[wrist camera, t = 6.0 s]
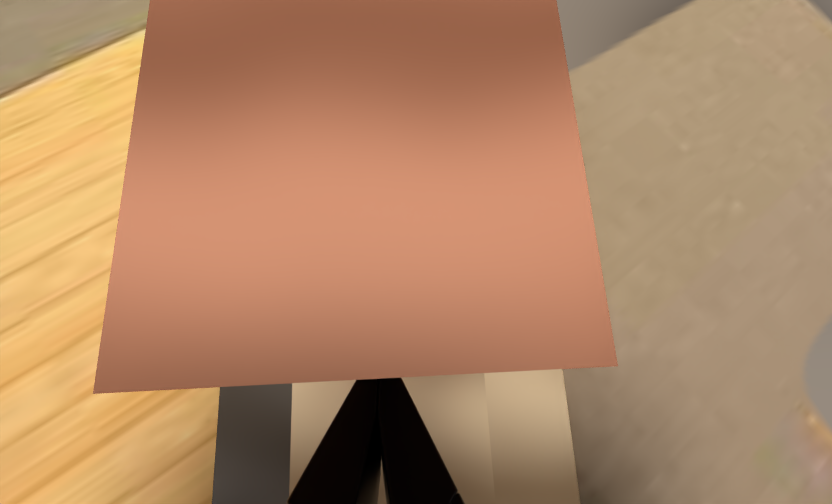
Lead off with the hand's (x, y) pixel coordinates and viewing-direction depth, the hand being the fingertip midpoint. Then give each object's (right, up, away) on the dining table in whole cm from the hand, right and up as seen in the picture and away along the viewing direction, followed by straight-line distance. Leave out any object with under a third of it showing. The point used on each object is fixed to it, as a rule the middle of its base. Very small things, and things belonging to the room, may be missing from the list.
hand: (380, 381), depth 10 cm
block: (0, +2, +7) cm, 8 cm away
